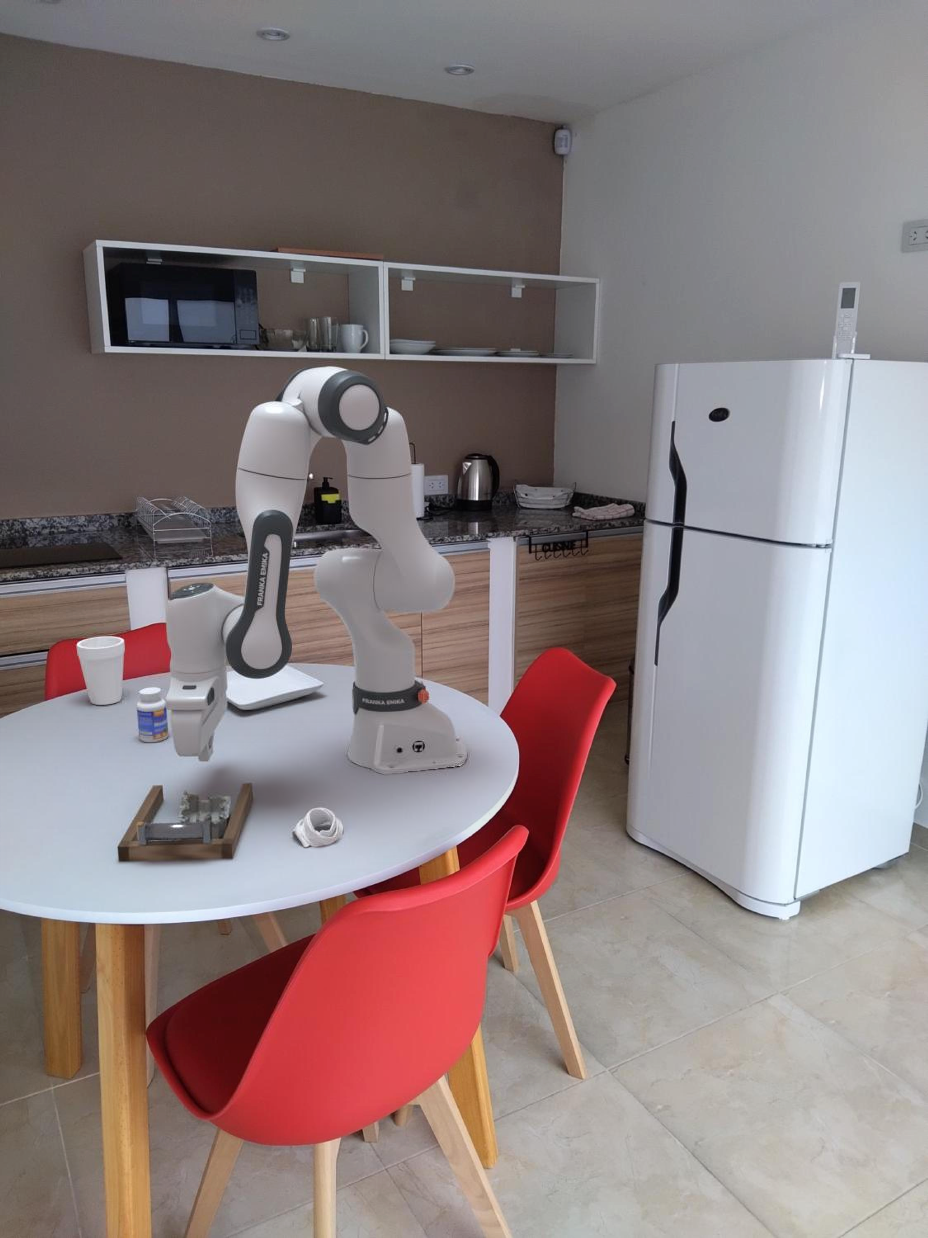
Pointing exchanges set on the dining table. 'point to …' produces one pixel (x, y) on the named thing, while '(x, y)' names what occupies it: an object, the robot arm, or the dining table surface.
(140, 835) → the winch
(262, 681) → the salad plate
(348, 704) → the dining table surface
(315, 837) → the white crumpled cloth
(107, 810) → the dining table surface
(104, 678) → the foam cup
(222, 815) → the egg carton
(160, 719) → the pill bottle
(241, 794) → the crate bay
